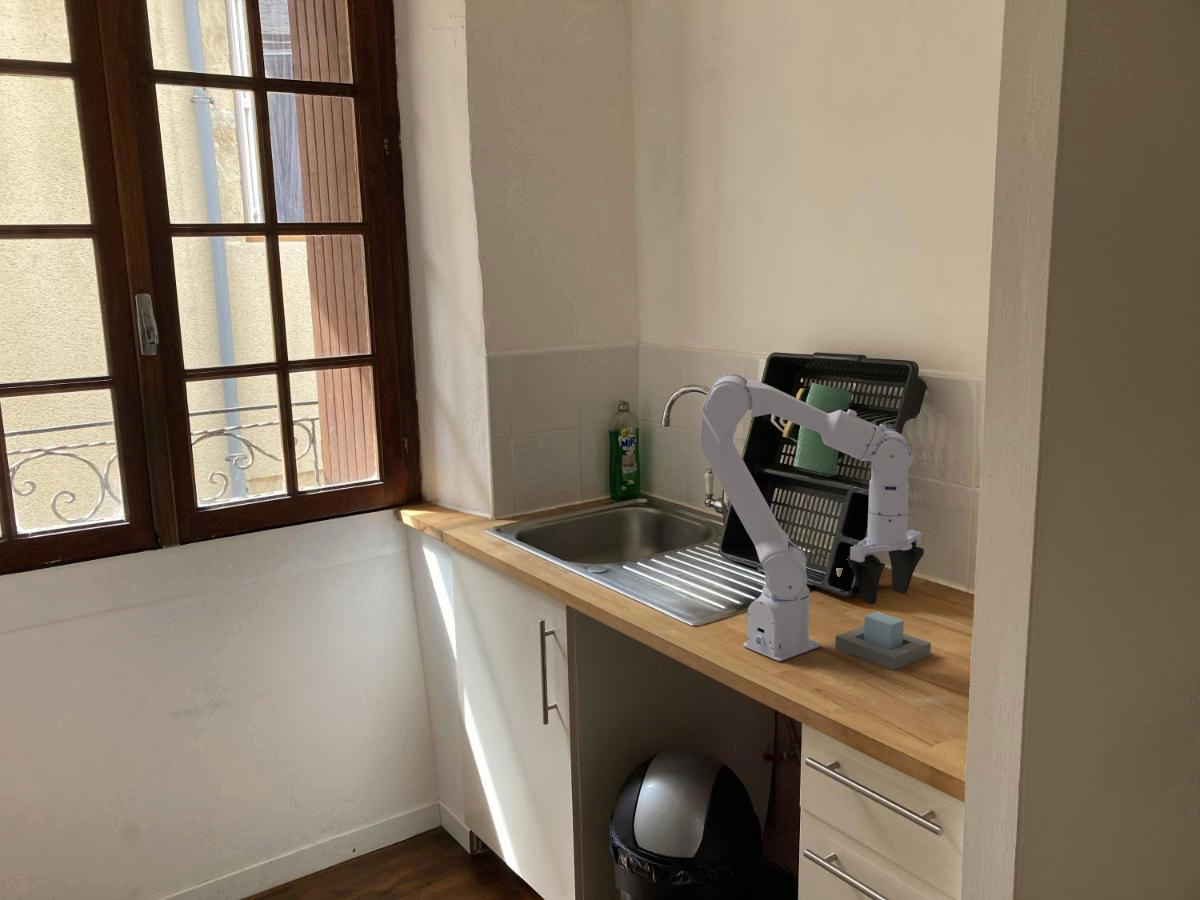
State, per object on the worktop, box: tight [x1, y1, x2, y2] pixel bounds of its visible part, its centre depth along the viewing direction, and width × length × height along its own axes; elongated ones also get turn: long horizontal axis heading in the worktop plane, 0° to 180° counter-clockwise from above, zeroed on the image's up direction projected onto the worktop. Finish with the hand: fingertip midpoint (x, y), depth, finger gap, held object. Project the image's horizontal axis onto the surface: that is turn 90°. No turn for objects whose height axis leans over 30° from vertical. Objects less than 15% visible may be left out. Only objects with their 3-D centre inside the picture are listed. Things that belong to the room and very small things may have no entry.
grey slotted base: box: [834, 625, 932, 671], centre depth 154 cm, size 9×11×2 cm
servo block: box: [863, 611, 905, 650], centre depth 154 cm, size 3×5×5 cm, turn 37°
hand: (884, 597), depth 153 cm, fingers open, 7 cm apart
